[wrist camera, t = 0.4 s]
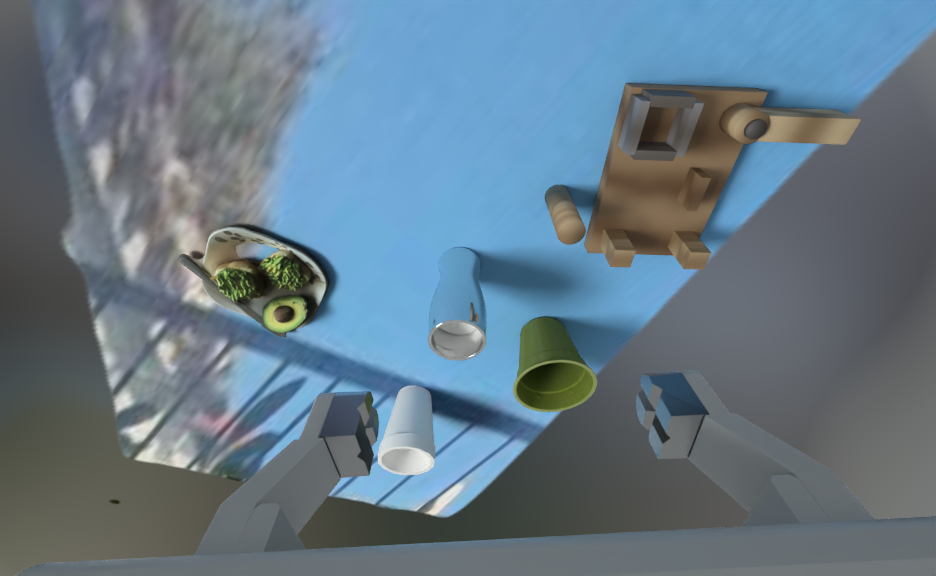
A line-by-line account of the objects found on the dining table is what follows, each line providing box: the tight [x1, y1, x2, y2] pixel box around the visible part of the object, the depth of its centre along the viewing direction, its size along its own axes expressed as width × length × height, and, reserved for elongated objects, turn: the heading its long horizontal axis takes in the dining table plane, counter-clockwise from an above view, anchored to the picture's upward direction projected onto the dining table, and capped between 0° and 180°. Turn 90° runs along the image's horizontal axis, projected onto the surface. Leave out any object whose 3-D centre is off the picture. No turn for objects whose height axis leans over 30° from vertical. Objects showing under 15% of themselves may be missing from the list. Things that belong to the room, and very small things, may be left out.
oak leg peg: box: [545, 185, 586, 244], centre depth 45 cm, size 3×3×9 cm
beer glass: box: [428, 247, 487, 360], centre depth 50 cm, size 7×7×15 cm
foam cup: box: [378, 386, 435, 475], centre depth 70 cm, size 10×9×13 cm
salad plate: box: [178, 226, 329, 337], centre depth 56 cm, size 19×18×5 cm
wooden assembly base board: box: [584, 83, 768, 270], centre depth 45 cm, size 20×14×7 cm
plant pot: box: [513, 317, 597, 412], centre depth 60 cm, size 12×12×11 cm
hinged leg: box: [719, 103, 861, 144], centre depth 39 cm, size 12×3×4 cm, turn 88°
